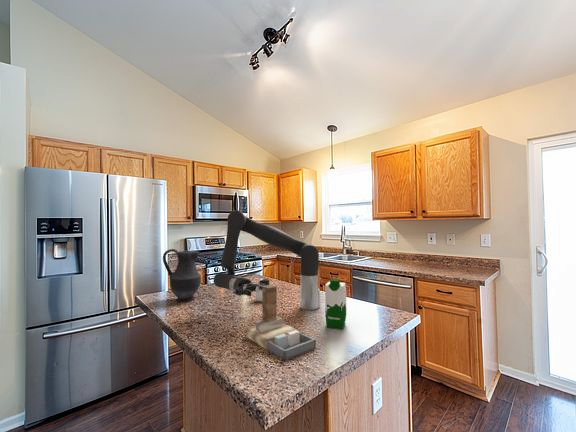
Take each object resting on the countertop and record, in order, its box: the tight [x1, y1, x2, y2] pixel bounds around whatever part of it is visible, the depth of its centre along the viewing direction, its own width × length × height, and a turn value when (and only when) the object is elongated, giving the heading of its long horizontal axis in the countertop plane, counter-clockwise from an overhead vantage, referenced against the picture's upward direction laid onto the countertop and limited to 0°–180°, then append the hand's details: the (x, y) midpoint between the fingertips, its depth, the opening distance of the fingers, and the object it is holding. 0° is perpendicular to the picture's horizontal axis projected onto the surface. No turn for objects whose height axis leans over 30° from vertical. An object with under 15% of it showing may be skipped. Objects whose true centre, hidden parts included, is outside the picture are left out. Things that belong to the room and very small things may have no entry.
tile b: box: [275, 334, 287, 348], centre depth 95 cm, size 4×4×2 cm
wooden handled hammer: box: [255, 284, 284, 332], centre depth 105 cm, size 4×10×16 cm, turn 129°
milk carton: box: [324, 278, 347, 330], centre depth 117 cm, size 9×9×20 cm
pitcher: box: [162, 248, 202, 303], centre depth 157 cm, size 17×21×30 cm
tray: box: [266, 331, 317, 362], centre depth 94 cm, size 10×14×3 cm
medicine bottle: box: [255, 278, 270, 302], centre depth 157 cm, size 7×7×12 cm
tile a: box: [287, 329, 300, 346], centre depth 98 cm, size 4×4×2 cm
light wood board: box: [246, 323, 298, 350], centre depth 104 cm, size 14×14×4 cm
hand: (259, 291), depth 111 cm, fingers open, 8 cm apart
